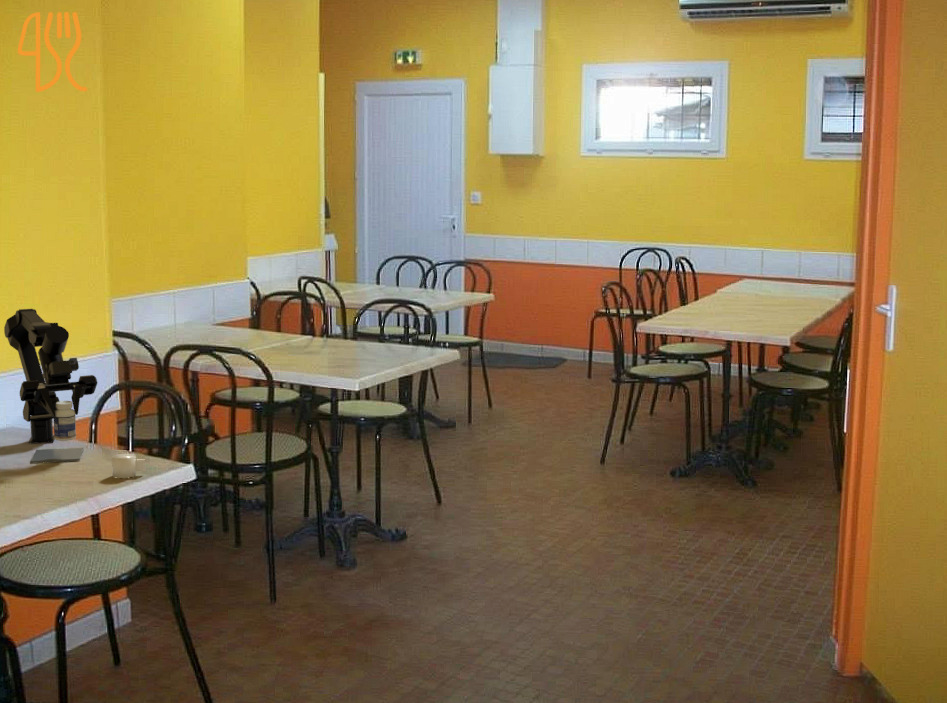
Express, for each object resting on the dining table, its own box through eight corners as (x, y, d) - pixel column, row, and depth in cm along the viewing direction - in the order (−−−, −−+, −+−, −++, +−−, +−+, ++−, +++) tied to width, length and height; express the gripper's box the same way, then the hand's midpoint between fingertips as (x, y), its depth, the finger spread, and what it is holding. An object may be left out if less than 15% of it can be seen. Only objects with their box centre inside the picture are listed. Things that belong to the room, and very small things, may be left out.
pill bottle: (54, 436, 308) (53, 400, 306) (76, 435, 309) (74, 399, 307) (54, 442, 303) (52, 405, 301) (76, 440, 304) (74, 404, 302)
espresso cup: (113, 473, 293) (112, 454, 292) (145, 472, 295) (145, 452, 294) (111, 479, 288) (111, 459, 287) (144, 477, 290) (144, 458, 289)
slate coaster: (36, 451, 313) (36, 449, 313) (83, 449, 316) (83, 447, 316) (30, 463, 302) (30, 461, 302) (79, 460, 305) (79, 458, 305)
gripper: (20, 350, 299) (32, 402, 293) (94, 345, 310) (108, 394, 303) (14, 374, 307) (26, 425, 301) (86, 368, 318) (99, 417, 311)
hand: (65, 415), depth 304 cm, fingers closed on pill bottle, 5 cm apart
